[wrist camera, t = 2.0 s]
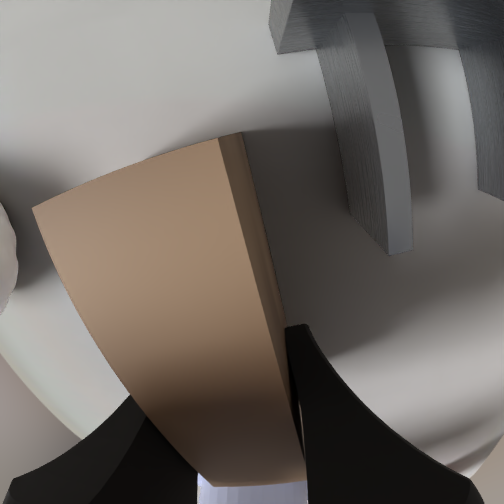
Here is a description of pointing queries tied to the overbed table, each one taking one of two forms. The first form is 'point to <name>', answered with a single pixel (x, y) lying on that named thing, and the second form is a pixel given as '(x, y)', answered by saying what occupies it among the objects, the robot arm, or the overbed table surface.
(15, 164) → the overbed table surface
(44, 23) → the overbed table surface
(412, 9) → the bracket
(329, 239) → the overbed table surface
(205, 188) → the brown rectangular block
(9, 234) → the baby figurine
